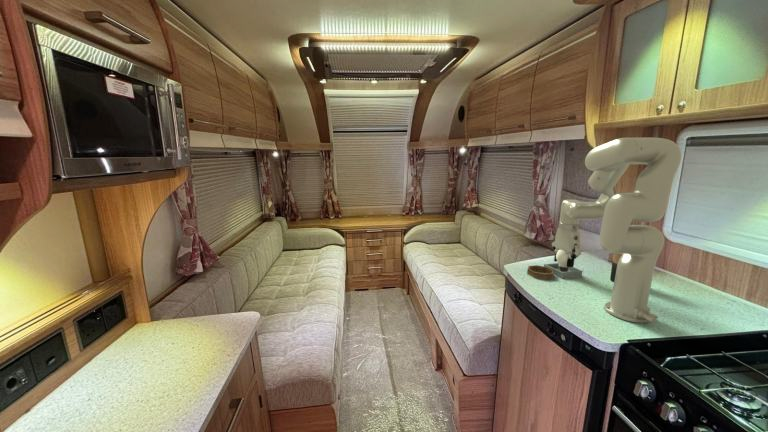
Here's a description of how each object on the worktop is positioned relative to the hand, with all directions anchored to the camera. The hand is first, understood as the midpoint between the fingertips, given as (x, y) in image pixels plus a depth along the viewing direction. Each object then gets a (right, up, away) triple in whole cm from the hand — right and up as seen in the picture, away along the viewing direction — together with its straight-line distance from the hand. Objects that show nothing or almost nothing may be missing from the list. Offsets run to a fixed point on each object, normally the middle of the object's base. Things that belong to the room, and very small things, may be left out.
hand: (563, 263), depth 138 cm
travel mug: (+20, -7, -9) cm, 22 cm away
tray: (0, -4, +1) cm, 5 cm away
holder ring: (-12, -5, -1) cm, 13 cm away
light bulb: (0, -3, +1) cm, 3 cm away
